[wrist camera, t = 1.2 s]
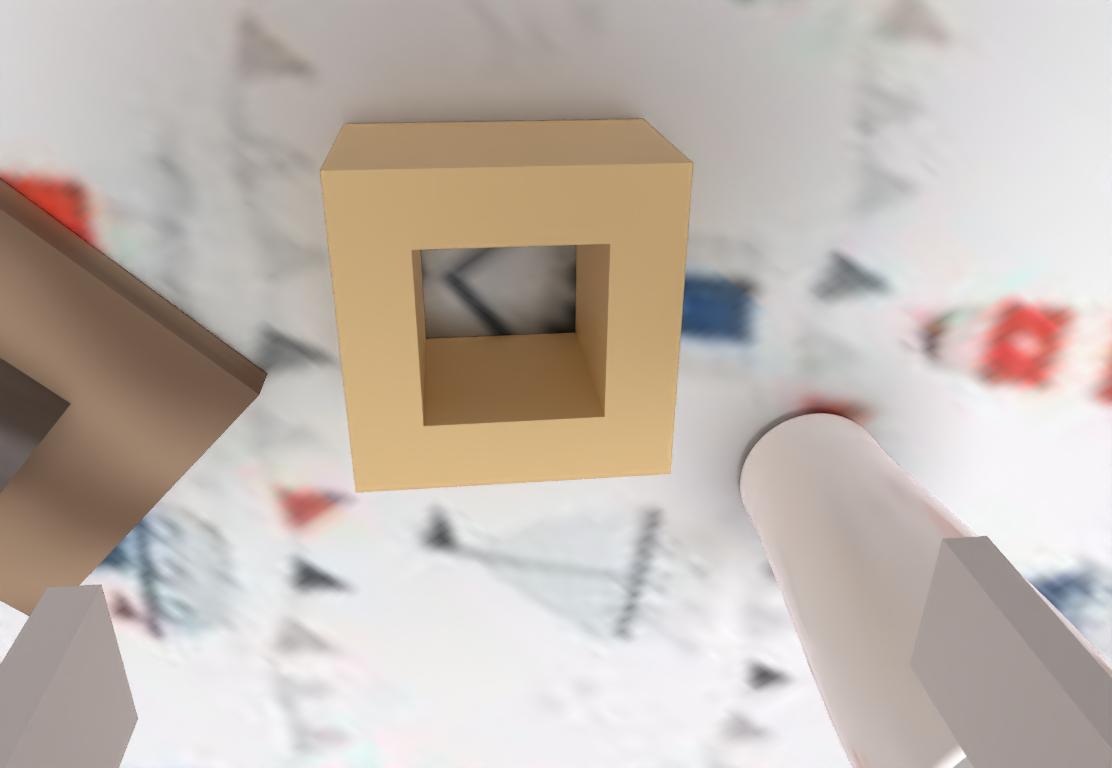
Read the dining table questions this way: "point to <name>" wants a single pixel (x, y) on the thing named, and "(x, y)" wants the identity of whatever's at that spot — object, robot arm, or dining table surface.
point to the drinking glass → (857, 581)
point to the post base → (93, 401)
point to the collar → (511, 360)
